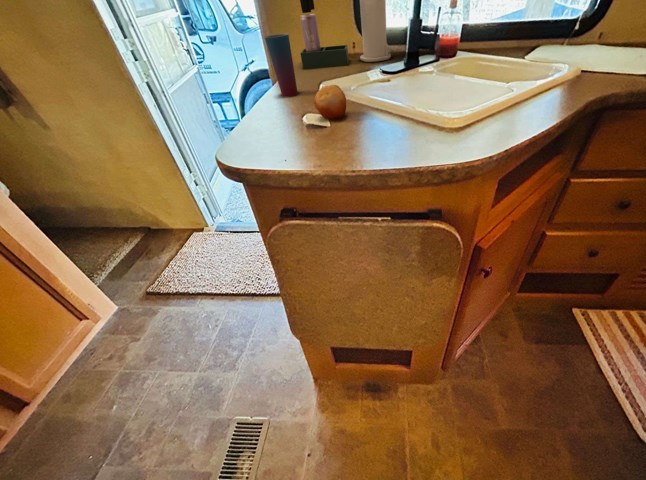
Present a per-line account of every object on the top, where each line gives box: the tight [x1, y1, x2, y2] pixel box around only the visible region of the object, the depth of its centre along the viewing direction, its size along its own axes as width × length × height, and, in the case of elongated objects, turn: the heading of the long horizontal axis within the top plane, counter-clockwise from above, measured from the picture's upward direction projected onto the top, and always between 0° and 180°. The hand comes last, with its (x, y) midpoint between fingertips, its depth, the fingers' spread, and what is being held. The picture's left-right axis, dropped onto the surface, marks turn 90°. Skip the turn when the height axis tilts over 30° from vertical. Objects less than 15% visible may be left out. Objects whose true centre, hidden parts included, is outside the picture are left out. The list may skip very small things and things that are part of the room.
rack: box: [299, 44, 350, 70], centre depth 125 cm, size 18×9×5 cm, turn 90°
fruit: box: [313, 84, 347, 120], centre depth 79 cm, size 8×8×8 cm
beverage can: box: [299, 13, 322, 52], centre depth 121 cm, size 6×6×15 cm
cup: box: [264, 32, 298, 98], centre depth 94 cm, size 7×7×15 cm
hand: (308, 11), depth 115 cm, fingers open, 9 cm apart
